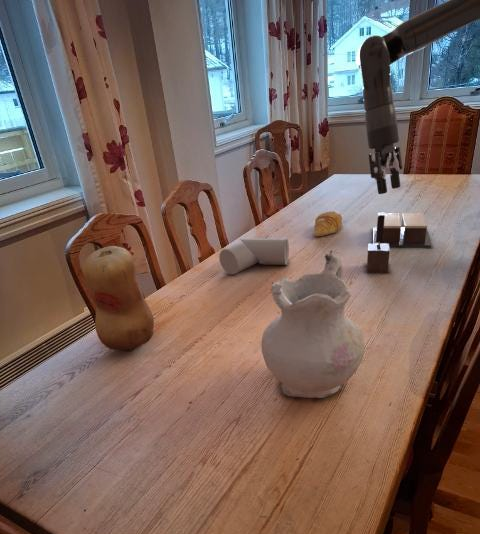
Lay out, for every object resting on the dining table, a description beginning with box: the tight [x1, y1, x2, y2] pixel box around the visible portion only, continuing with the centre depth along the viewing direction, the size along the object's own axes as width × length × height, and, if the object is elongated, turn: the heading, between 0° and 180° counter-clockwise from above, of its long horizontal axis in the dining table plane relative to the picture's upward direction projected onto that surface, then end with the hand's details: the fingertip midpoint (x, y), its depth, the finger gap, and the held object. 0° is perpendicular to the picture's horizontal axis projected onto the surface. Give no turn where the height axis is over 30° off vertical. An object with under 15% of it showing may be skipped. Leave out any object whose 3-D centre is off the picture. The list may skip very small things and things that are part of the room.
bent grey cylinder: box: [218, 238, 290, 276], centre depth 138 cm, size 18×11×20 cm
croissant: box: [313, 211, 343, 237], centre depth 164 cm, size 21×10×8 cm, turn 147°
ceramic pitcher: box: [261, 250, 366, 399], centre depth 82 cm, size 22×20×25 cm
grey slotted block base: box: [372, 212, 432, 249], centre depth 149 cm, size 18×18×7 cm
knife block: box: [366, 242, 391, 274], centre depth 129 cm, size 6×6×7 cm
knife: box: [376, 212, 386, 249], centre depth 127 cm, size 2×3×17 cm, turn 165°
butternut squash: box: [83, 245, 155, 352], centre depth 99 cm, size 14×13×25 cm
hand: (389, 190), depth 115 cm, fingers open, 8 cm apart
